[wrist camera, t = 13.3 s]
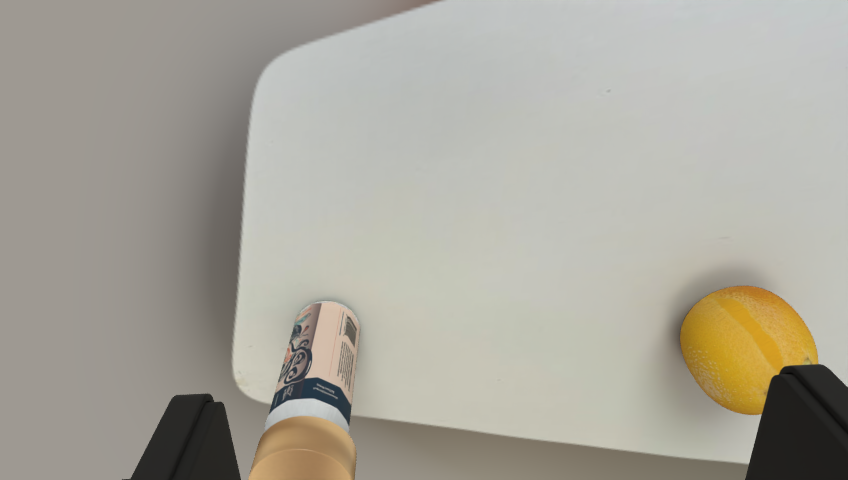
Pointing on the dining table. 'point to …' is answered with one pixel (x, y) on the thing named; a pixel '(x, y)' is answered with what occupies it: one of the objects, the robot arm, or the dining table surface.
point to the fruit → (743, 345)
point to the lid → (304, 451)
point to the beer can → (319, 366)
